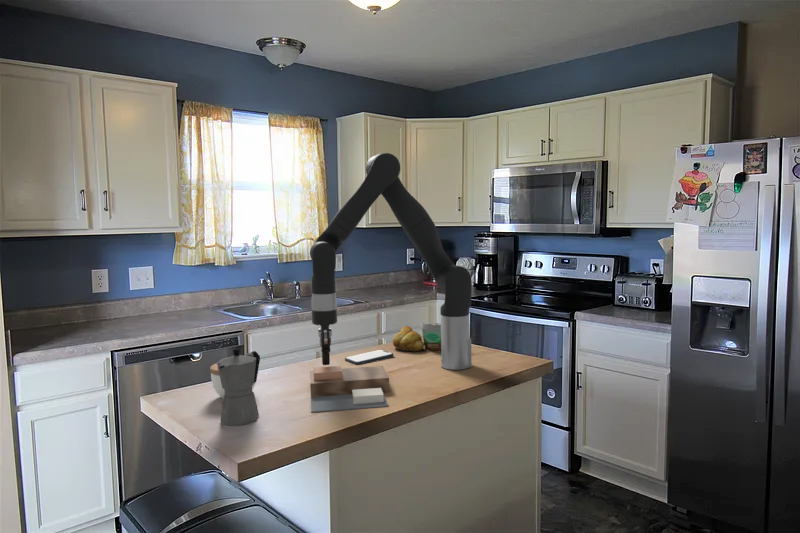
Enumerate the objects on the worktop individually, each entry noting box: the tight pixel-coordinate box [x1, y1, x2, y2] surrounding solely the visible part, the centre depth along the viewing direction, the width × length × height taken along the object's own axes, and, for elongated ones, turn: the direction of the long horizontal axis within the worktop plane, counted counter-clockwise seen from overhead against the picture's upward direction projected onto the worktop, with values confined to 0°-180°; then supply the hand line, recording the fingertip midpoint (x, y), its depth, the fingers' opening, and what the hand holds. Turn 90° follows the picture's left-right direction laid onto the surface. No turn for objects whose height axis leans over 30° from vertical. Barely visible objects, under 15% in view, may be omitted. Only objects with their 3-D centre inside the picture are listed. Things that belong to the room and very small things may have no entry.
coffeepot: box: [216, 347, 261, 427], centre depth 137 cm, size 15×9×18 cm, turn 159°
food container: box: [420, 322, 441, 352], centre depth 202 cm, size 12×6×10 cm, turn 80°
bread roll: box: [392, 325, 425, 352], centre depth 205 cm, size 13×10×8 cm
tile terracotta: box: [312, 365, 343, 380], centre depth 158 cm, size 8×6×2 cm
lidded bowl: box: [209, 362, 257, 400], centre depth 155 cm, size 13×13×11 cm
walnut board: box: [309, 365, 390, 398], centre depth 160 cm, size 22×13×4 cm, turn 100°
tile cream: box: [352, 388, 385, 404], centre depth 149 cm, size 8×6×2 cm
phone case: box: [344, 349, 394, 366], centre depth 193 cm, size 9×2×16 cm
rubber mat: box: [310, 393, 390, 414], centre depth 148 cm, size 20×12×1 cm, turn 100°
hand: (326, 364), depth 167 cm, fingers closed
